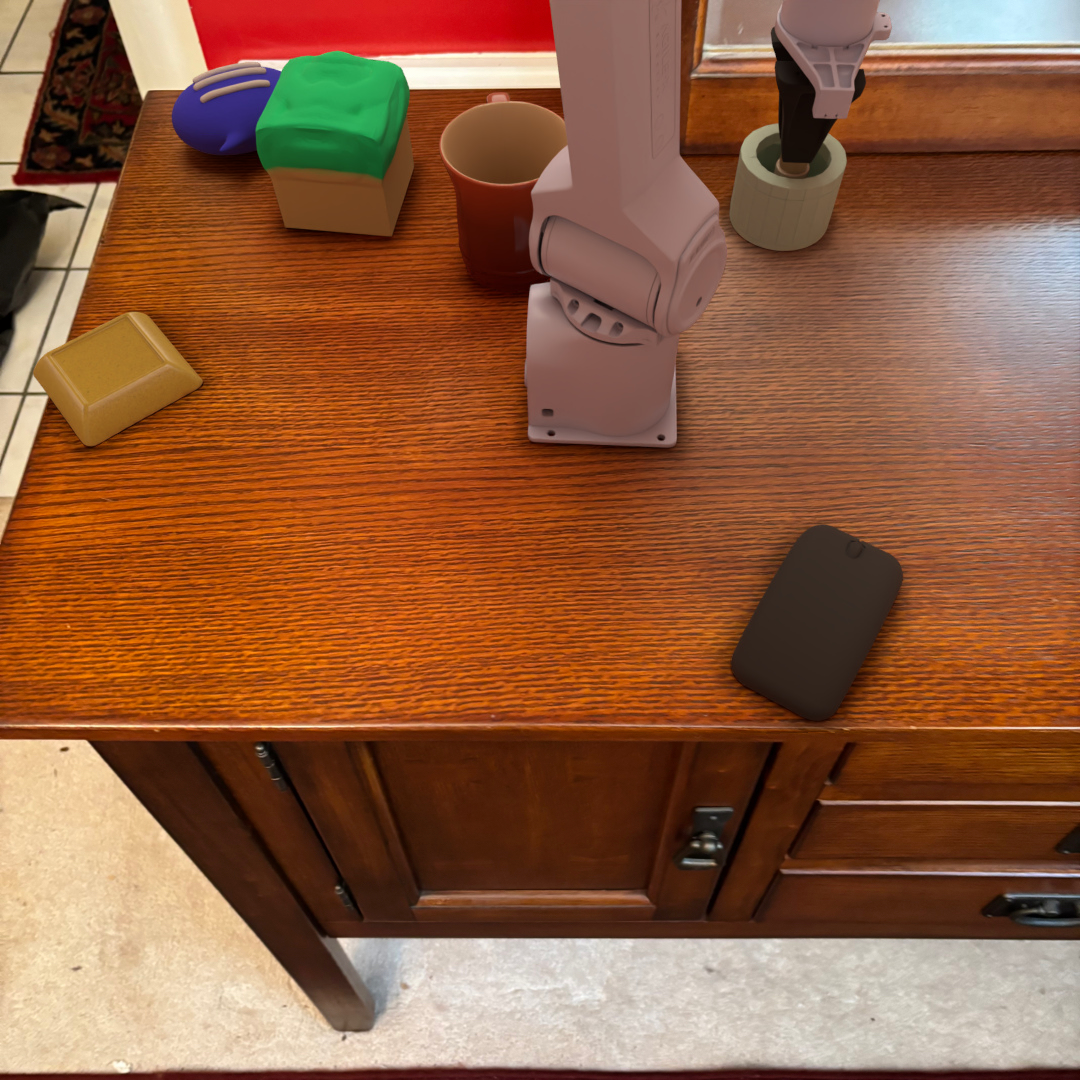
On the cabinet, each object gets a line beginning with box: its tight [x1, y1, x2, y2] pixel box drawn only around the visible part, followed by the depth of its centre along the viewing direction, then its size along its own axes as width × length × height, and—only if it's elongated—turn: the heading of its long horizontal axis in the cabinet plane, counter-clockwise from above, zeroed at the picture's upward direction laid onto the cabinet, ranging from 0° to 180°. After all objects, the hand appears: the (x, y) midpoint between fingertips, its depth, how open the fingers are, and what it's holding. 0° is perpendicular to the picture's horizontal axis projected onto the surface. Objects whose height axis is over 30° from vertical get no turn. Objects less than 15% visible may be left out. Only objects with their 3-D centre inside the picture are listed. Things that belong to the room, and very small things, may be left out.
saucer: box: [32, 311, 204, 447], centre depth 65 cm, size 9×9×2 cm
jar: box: [728, 122, 848, 252], centre depth 71 cm, size 7×7×6 cm
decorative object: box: [171, 61, 282, 156], centre depth 76 cm, size 10×6×10 cm
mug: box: [438, 91, 568, 294], centre depth 68 cm, size 12×9×10 cm
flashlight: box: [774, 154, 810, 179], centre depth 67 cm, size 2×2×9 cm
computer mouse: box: [730, 524, 904, 722], centre depth 54 cm, size 6×11×4 cm, turn 148°
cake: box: [256, 50, 415, 238], centre depth 71 cm, size 10×11×10 cm
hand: (795, 148), depth 68 cm, fingers closed on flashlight, 2 cm apart
